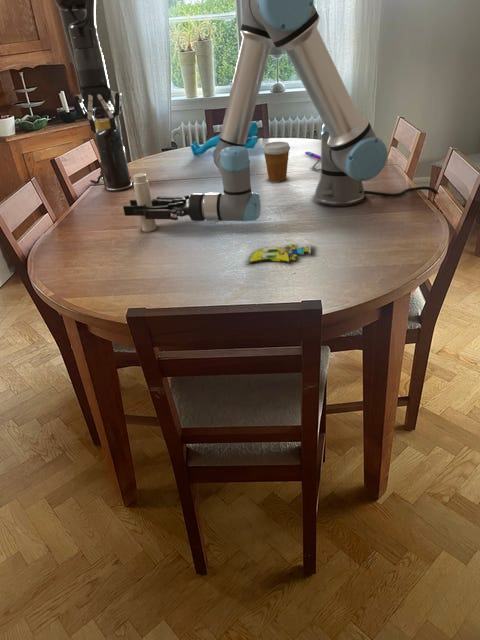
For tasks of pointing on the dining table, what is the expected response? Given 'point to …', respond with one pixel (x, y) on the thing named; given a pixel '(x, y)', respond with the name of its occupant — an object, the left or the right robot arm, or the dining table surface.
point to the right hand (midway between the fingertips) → (128, 207)
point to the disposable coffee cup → (276, 160)
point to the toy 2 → (278, 254)
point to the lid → (102, 124)
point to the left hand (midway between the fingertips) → (105, 131)
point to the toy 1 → (214, 141)
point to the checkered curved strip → (315, 157)
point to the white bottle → (143, 200)
